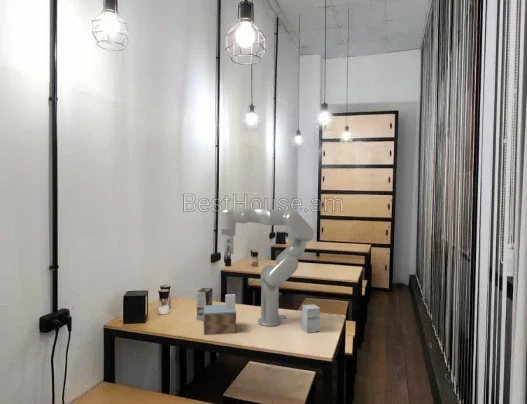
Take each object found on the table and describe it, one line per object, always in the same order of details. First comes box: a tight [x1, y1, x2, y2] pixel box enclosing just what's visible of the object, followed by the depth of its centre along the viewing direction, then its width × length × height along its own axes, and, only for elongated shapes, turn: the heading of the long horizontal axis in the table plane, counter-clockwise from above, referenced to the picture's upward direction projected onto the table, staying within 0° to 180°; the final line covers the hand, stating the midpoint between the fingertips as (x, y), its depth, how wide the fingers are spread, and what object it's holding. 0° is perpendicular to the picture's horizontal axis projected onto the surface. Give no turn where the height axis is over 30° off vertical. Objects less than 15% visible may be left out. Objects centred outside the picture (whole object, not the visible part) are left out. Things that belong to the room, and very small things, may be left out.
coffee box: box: [196, 287, 213, 321], centre depth 208 cm, size 9×6×16 cm
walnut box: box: [203, 312, 237, 336], centre depth 191 cm, size 16×12×10 cm
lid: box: [204, 293, 237, 315], centre depth 191 cm, size 16×12×8 cm
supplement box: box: [301, 303, 321, 334], centre depth 192 cm, size 7×7×13 cm
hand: (227, 264), depth 195 cm, fingers open, 9 cm apart
